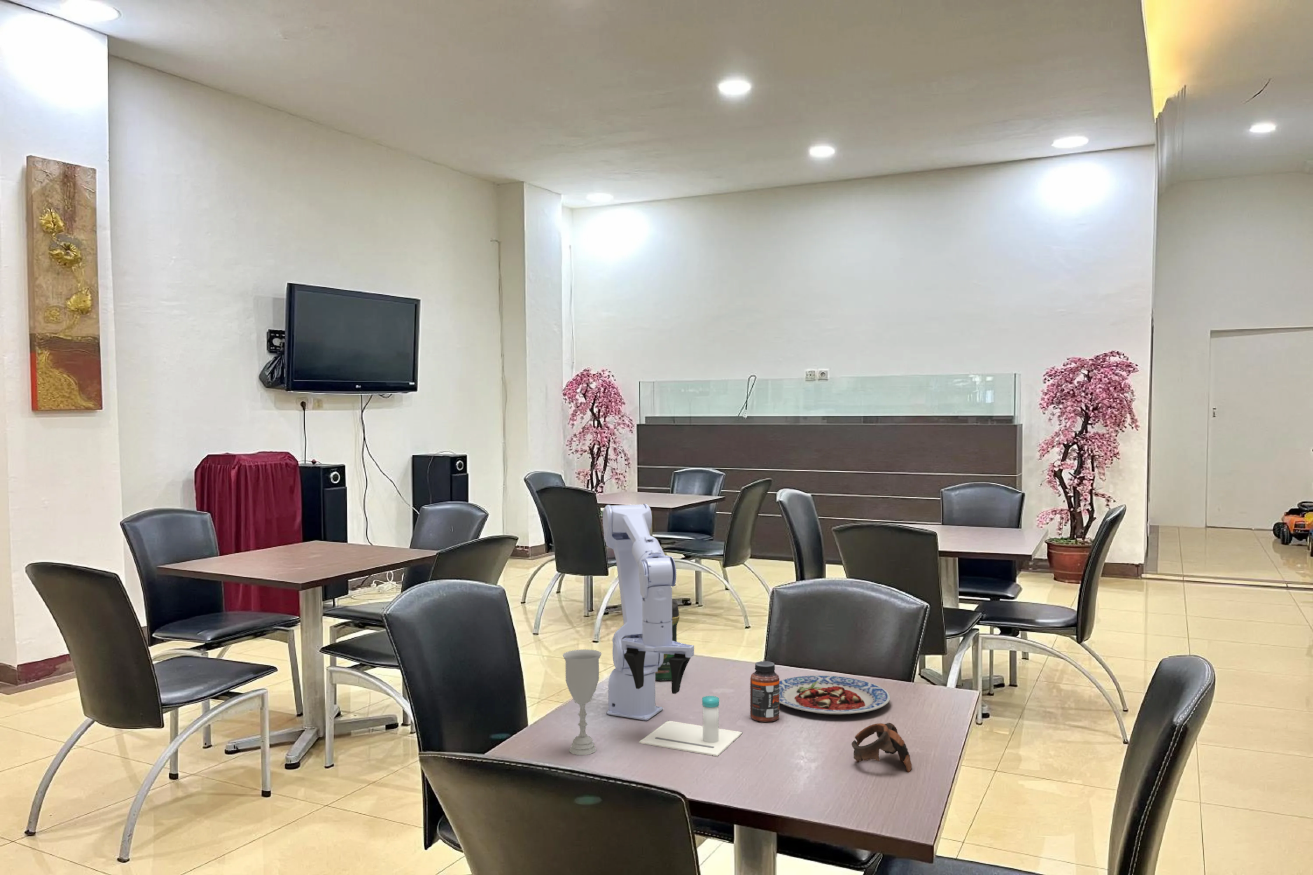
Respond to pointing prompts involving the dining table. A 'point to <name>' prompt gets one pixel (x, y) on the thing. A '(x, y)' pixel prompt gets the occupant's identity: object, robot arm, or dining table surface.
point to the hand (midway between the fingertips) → (657, 689)
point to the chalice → (582, 691)
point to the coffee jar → (665, 669)
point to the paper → (689, 738)
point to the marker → (710, 719)
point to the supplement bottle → (764, 692)
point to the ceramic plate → (831, 694)
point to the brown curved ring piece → (881, 744)
